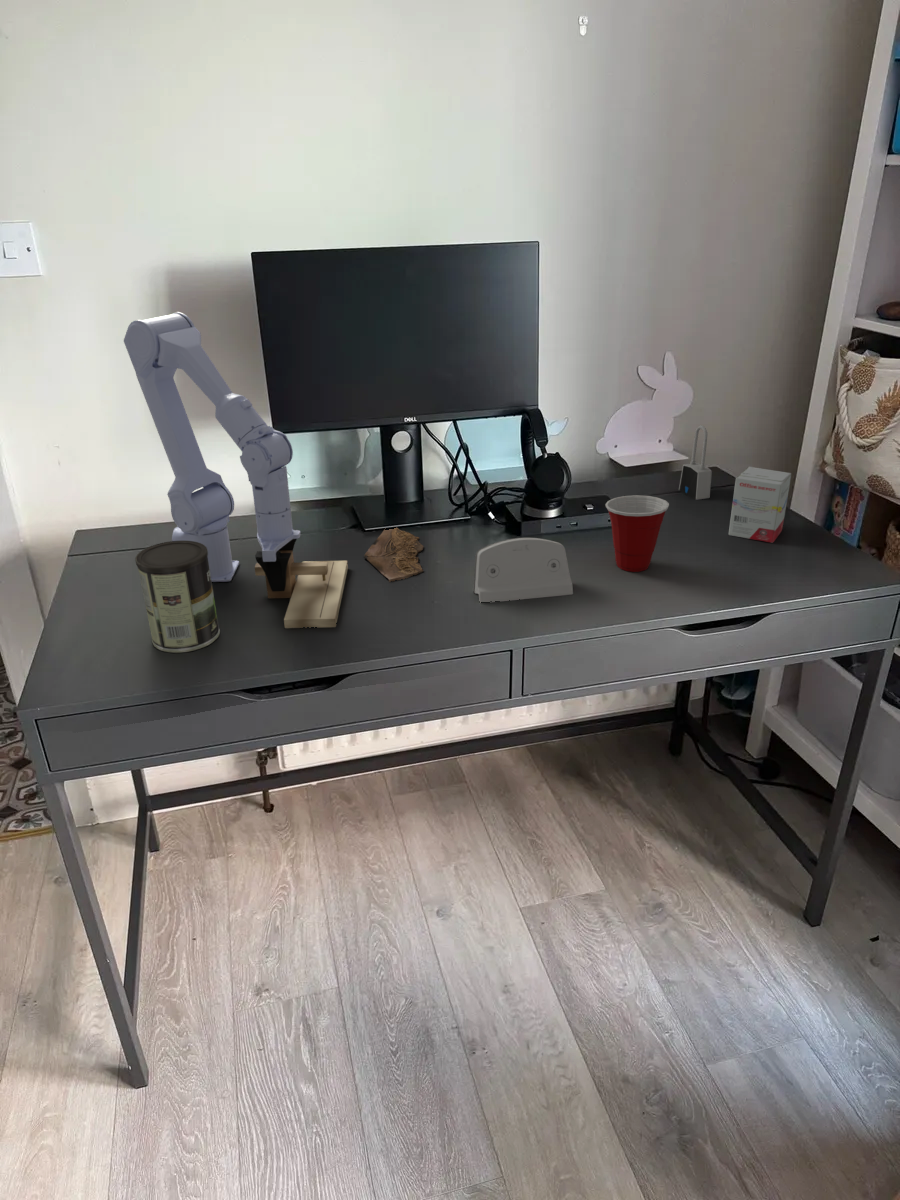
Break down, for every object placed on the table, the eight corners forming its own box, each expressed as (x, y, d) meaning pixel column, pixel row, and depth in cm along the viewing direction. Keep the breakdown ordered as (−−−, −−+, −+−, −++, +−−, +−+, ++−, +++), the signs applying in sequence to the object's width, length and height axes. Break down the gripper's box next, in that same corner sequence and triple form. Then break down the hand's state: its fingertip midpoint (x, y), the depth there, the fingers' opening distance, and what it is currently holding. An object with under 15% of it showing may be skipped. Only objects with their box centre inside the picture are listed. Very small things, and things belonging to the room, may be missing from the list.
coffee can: (207, 614, 140) (194, 534, 134) (229, 640, 133) (217, 557, 126) (143, 632, 135) (126, 549, 129) (162, 660, 128) (145, 574, 121)
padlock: (711, 497, 185) (720, 428, 179) (694, 500, 184) (703, 431, 177) (693, 487, 191) (701, 420, 184) (677, 490, 190) (684, 422, 183)
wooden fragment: (423, 582, 151) (423, 577, 150) (360, 584, 150) (359, 578, 150) (423, 526, 174) (423, 522, 173) (368, 528, 173) (368, 523, 173)
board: (284, 628, 136) (283, 619, 135) (303, 569, 156) (302, 561, 155) (335, 627, 136) (335, 618, 135) (347, 568, 156) (347, 560, 155)
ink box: (783, 529, 169) (793, 471, 164) (772, 544, 163) (782, 484, 157) (739, 521, 173) (747, 464, 168) (726, 535, 167) (735, 476, 161)
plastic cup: (630, 548, 162) (636, 487, 157) (675, 567, 154) (682, 504, 149) (588, 562, 156) (592, 500, 151) (632, 583, 148) (638, 518, 143)
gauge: (256, 598, 145) (251, 559, 142) (261, 585, 150) (256, 547, 146) (327, 597, 145) (324, 558, 142) (330, 584, 150) (327, 546, 147)
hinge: (478, 603, 143) (473, 543, 141) (472, 600, 147) (468, 541, 146) (575, 594, 145) (572, 534, 144) (566, 591, 150) (563, 533, 148)
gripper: (290, 524, 134) (298, 602, 140) (303, 492, 147) (310, 564, 153) (245, 525, 134) (255, 602, 140) (262, 492, 147) (270, 565, 153)
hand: (281, 583), depth 147 cm, fingers closed on gauge, 5 cm apart
